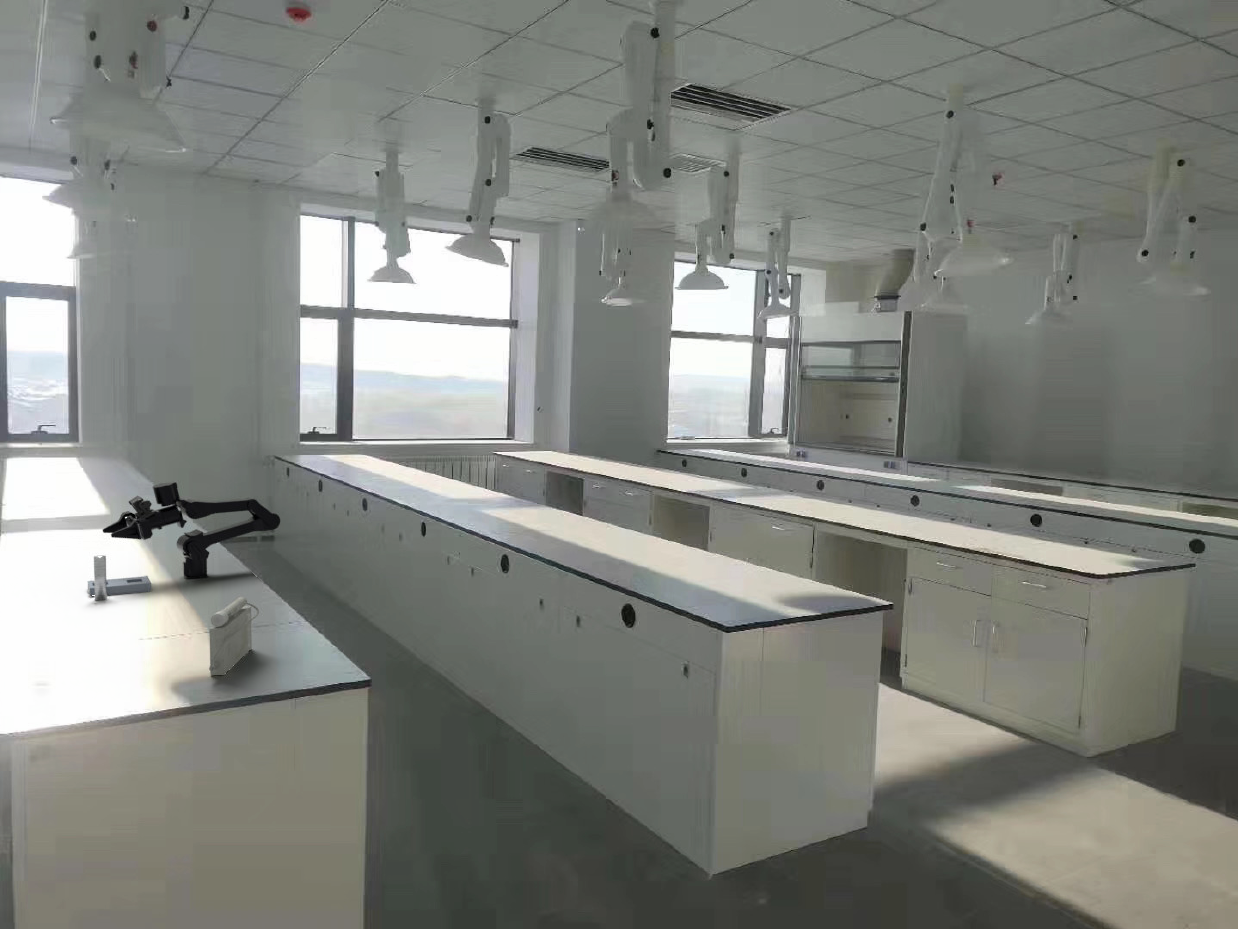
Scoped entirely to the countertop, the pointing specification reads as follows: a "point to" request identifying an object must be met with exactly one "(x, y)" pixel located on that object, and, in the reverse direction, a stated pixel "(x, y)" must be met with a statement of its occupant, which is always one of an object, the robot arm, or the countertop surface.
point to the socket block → (123, 585)
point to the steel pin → (100, 577)
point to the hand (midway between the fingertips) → (107, 533)
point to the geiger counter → (230, 636)
